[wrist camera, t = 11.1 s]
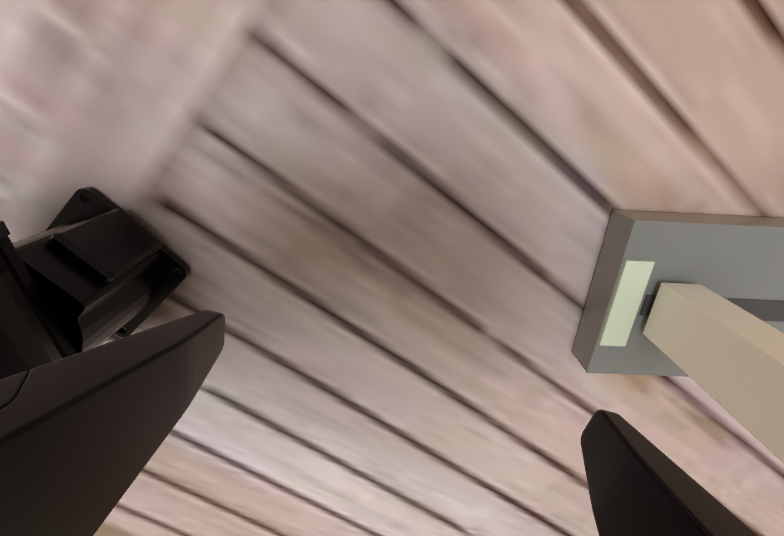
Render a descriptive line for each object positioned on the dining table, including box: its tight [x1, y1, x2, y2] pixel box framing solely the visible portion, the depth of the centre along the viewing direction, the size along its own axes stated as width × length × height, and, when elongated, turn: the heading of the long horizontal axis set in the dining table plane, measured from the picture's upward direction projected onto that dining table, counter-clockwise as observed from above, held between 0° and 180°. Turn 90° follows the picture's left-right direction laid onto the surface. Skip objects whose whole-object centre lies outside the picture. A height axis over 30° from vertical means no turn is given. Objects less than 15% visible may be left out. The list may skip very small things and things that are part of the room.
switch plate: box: [572, 209, 784, 377], centre depth 21 cm, size 12×9×2 cm
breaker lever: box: [643, 283, 784, 464], centre depth 15 cm, size 2×4×11 cm, turn 177°
